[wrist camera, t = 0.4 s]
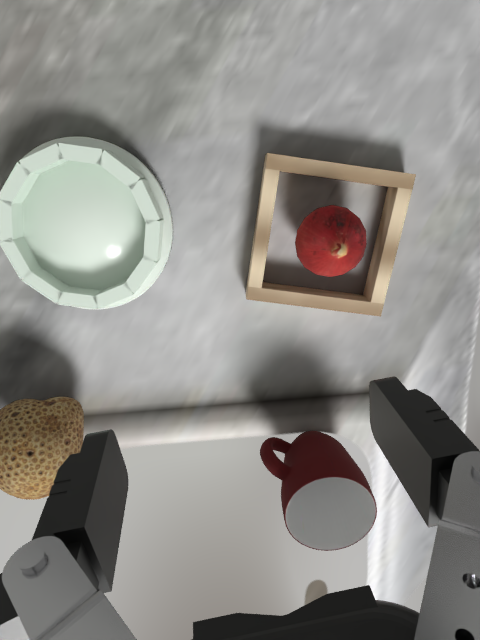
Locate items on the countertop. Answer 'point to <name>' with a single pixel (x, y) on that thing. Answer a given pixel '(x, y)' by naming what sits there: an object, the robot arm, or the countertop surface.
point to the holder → (383, 248)
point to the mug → (321, 491)
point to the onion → (330, 241)
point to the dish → (85, 223)
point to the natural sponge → (37, 443)
